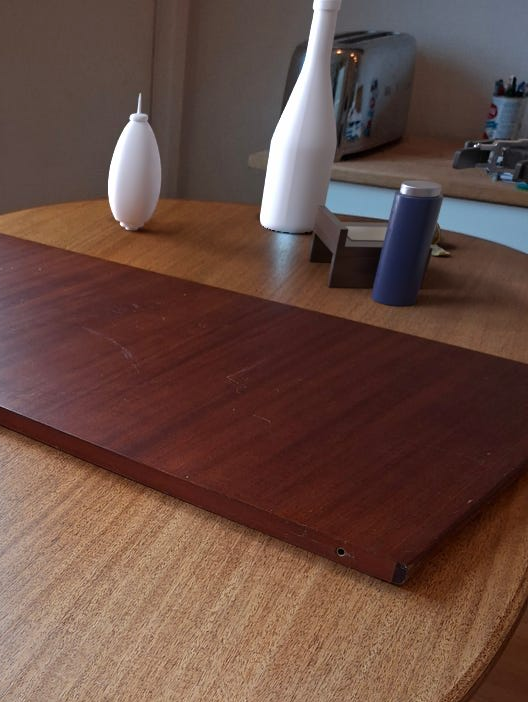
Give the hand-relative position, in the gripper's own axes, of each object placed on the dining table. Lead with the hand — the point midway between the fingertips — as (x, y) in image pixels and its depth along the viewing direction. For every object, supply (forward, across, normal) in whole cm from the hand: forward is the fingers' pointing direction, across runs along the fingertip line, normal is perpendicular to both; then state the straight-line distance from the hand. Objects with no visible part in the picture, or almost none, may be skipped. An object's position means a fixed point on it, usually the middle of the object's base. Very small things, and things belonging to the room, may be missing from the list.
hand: (485, 165), depth 105 cm
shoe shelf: (+6, -10, +14) cm, 18 cm away
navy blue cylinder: (+11, 0, +14) cm, 18 cm away
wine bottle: (-3, -33, +14) cm, 36 cm away
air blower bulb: (+19, -44, +14) cm, 50 cm away
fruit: (-10, -14, +14) cm, 23 cm away
